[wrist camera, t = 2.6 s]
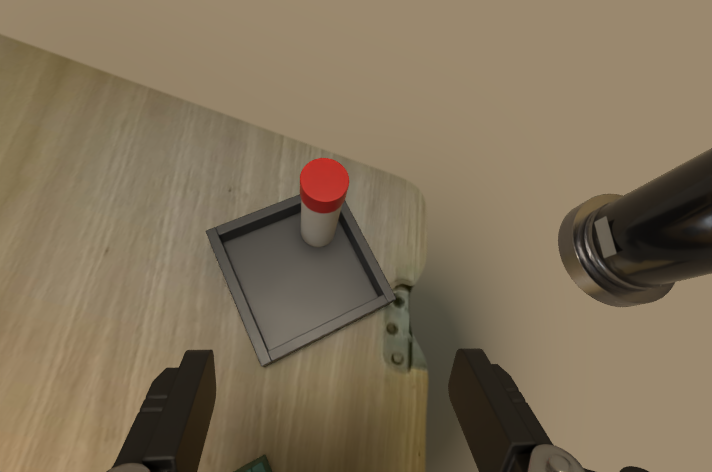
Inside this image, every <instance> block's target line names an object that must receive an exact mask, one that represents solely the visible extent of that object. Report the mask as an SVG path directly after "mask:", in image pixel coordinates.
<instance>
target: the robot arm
mask: <svg viewBox="0 0 712 472" xmlns="http://www.w3.org/2000/svg"><path fill="white" fill-rule="evenodd" d="M584 240H585V246H586V249H587V252H588V254H589V257H590V259H591V260H592V262H593V264H594V265H595V266H596V268H597V269H598V270H599V271H600V272H601V273H602V274H603V275H604V276H605V277H606V278H607V279H608V280H610V281H611V282H613V283H614V284H616V285H618V286H620V287H623V288H626V289H629V290H636V291H641V290H647V289H651V288H655V287H659V286H661V285H663V284H668V283H672V282H676V281H681V280H686V279H690V278H694V277H698V276H702V275H706V274H711V273H712V148H711V149H710V150H708V151H706V152H704V153H702V154H700V155H698V156H696V157H695V158H693V159H691V160H689V161H687V162H685V163H684V164H682V165H680V166H678V167H676V168H674V169H672V170H671V171H669V172H667V173H665V174H663V175H661V176H660V177H658V178H656V179H654V180H652V181H650V182H648V183H646V184H645V185H643V186H641V187H639V188H637V189H635V190H633V191H632V192H630V193H628V194H626V195H624V196H622V197H620V198H618V199H617V200H615V201H613V202H609V203H607V204H605V205H603V206H601V207H600V208H598V209H596V210H595V211H594V212H593V213H592V214H591V215H590V216H589V218H588V220H587V222H586V225H585V230H584ZM448 389H449V397H450V401H451V403H452V406H453V408H454V411H455V413H456V415H457V418H458V421H459V423H460V426H461V428H462V430H463V433H464V435H465V438H466V440H467V443H468V445H469V448H470V450H471V453H472V455H473V458H474V460H475V463H476V465H477V468H478V470H479V472H595V471H591V470H587V469H585V468H583V467H582V466H581V464H580V463H579V462H578V461H577V460H576V459H575V458H574V457H573V456H572V455H571V454H569V453H568V452H566V451H565V450H563V449H561V448H559V447H557V446H554V445H553V444H552V442H551V441H550V439H549V437H548V436H547V434H546V433H545V431H544V429H543V428H542V426H541V424H540V423H539V421H538V420H537V418H536V416H535V415H534V413H533V412H532V410H531V408H530V407H529V405H528V403H526V402H525V399H524V397H523V395H522V394H521V392H519V390H518V387H517V386H516V384H515V382H514V381H513V380H512V378H511V376H510V375H509V374H508V373H507V372H506V371H504V370H503V369H502V368H501V367H500V366H499V365H498V364H491V363H490V361H489V360H488V358H487V356H486V354H485V353H484V352H483V350H482V349H458V350H457V352H456V356H455V360H454V364H453V367H452V371H451V375H450V379H449V384H448ZM215 398H216V378H215V366H214V355H213V351H212V350H187V351H186V352H185V354H184V356H183V359H182V361H181V364H180V366H179V368H166V369H165V370H164V371H163V372H162V373H161V374H160V375H159V376H158V377H157V378H156V379H155V380H154V381H153V382H152V384H151V387H150V389H149V391H148V393H147V395H146V399H145V400H144V401H143V404H142V406H141V408H140V412H139V413H138V414H137V416H136V419H135V421H134V423H133V425H132V427H131V429H130V431H129V434H128V436H127V438H126V440H125V442H124V444H123V446H122V449H121V451H120V453H119V455H118V457H117V459H116V461H115V463H114V465H113V467H112V468H111V469H110V470H108V471H107V472H197V470H198V466H199V462H200V458H201V454H202V451H203V447H204V443H205V439H206V435H207V432H208V428H209V424H210V420H211V416H212V413H213V409H214V404H215ZM620 472H648V471H647V470H644V469H641V468H638V467H632V466H629V467H625V468H623V469H621V471H620Z"/></svg>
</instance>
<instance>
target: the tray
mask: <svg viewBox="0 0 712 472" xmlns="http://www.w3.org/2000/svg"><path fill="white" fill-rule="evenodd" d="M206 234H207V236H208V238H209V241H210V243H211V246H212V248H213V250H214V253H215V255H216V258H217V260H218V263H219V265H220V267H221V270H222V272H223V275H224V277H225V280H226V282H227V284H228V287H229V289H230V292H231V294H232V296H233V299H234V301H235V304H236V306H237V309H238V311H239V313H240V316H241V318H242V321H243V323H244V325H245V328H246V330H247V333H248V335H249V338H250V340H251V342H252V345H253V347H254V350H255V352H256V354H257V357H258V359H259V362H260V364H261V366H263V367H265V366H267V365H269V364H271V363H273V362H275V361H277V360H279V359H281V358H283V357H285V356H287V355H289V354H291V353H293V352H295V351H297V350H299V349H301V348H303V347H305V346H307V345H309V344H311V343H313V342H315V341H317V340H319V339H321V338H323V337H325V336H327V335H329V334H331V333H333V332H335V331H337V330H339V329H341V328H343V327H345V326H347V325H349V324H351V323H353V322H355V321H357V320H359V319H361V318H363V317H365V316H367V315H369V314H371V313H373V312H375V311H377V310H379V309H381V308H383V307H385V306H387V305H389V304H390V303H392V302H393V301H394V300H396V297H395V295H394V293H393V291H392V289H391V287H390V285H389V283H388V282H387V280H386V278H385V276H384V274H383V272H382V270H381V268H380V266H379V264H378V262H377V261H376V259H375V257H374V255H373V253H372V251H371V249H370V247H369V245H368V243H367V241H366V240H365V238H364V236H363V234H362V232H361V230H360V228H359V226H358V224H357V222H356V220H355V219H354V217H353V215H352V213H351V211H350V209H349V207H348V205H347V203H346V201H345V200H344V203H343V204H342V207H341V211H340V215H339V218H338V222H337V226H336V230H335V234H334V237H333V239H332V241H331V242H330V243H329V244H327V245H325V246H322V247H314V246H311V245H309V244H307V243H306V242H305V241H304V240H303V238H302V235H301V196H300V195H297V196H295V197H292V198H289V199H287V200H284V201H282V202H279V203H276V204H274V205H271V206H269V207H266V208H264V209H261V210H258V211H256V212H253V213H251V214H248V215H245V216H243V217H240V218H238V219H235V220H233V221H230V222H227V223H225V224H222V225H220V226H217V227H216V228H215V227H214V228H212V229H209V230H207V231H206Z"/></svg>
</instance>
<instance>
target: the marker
mask: <svg viewBox="0 0 712 472" xmlns="http://www.w3.org/2000/svg"><path fill="white" fill-rule="evenodd" d="M348 186H349V176H348V173H347V171H346V170H345V168H344V167H343V166H342V165H341V164H340V163H338V162H337V161H335V160H332V159H328V158H319V159H315V160H313V161H311V162H309V163H308V164H307V165H306V166H305V167H304V168H303V170H302V172H301V175H300V196H301V235H302V238H303V240H304V241H305V242H306V243H307V244H309V245H311V246H314V247H322V246H325V245H327V244H329V243H330V242H331V241H332V239H333V237H334V234H335V230H336V226H337V222H338V218H339V215H340V211H341V207H342V204H343V203H344V200H345V197H346V193H347V190H348Z"/></svg>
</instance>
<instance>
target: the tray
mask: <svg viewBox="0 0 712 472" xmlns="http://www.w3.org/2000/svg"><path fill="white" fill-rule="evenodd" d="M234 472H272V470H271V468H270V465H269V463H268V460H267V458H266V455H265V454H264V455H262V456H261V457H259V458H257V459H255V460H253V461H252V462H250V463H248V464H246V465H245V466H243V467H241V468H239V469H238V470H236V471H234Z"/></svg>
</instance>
